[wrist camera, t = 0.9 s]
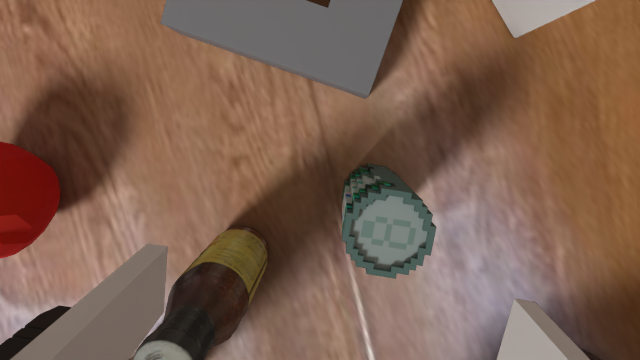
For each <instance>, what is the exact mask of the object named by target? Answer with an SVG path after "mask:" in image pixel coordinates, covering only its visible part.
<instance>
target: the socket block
mask: <svg viewBox="0 0 640 360" xmlns="http://www.w3.org/2000/svg"><path fill="white" fill-rule="evenodd" d="M402 2H403V0H330V3H329V6H328V8H327V7H324V6H321V5H318V4H315V3H312V2H310V1H307V0H166V4H165V8H164V12H163V15H162V19H161V24H163V25H165V26H166V27H168V28H170V29H172V30H174V31H176V32H178V33H180V34H182V35H185V36H188V37H190V38H193V39H196V40H199V41H202V42H205V43H208V44H210V45H213V46H216V47H219V48H222V49H225V50H228V51H230V52H233V53H236V54H239V55H242V56H245V57H248V58H250V59H253V60H256V61H259V62H262V63H265V64H268V65H270V66H273V67H276V68H279V69H282V70H285V71H288V72H290V73H293V74H296V75H299V76H302V77H305V78H308V79H310V80H313V81H316V82H319V83H322V84H325V85H328V86H330V87H333V88H336V89H339V90H342V91H345V92H348V93H350V94H353V95H356V96H359V97H362V98H365V99H366V98H367V97H368V96H369V94H370V91H371V88H372V85H373V83H374V80H375V77H376V74H377V71H378V69H379V66H380V63H381V60H382V57H383V55H384V52H385V49H386V46H387V44H388V41H389V38H390V35H391V32H392V30H393V27H394V24H395V21H396V18H397V16H398V13H399V10H400V7H401V4H402Z"/></svg>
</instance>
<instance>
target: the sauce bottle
mask: <svg viewBox="0 0 640 360" xmlns="http://www.w3.org/2000/svg"><path fill="white" fill-rule="evenodd" d="M268 255H269V251H268V247H267V244H266V242H265V240H264V239H263V238H262V236H261V235H260V234H259V233H258V232H257V231H255V230H253V229H250V228H248V227H241V226H239V227H233V228H231V229H229V230H227V231H225V232H223V233H222V234H220V235H218V236H217V237H216V238H215V239H214V241H213V242H212V243H211V244H210V245H209V246H208V247H207V248H206V249H205V250H204V251H203V252H202V253H201V254H200V256H199V257H198V258H197V259H196V260H195V261H194V262H193V263H192V264H191V265H190V266H189V268H188V269H186V271H185V272H184V273H183V274H182V275H181V276H180V277H179V278H178V280H177V281H176V282H175V283H174V285H173V287H172V289H171V291H170V294H169V298H168V303H167V307H166V312H165V317H164V320H163V322H162V324H161V325H160V326H159V327H158V329H157V330H156V331H155V332H153V333H151V334H150V335H149V336H148V337H147V338H146V339H145V340H144V341H143V343H142V344H141V345H140V347H139V348H138V349H137V351H136V353H135V356H134V359H133V360H203V359H204V357H205V356H206V354H207V352H208V351H209V349H211V347H212V346H215V345H218V344H221V343H223V342H224V341H226V340H228V339H229V338H230V337H231V336H232V334H233V333H234V331H235V330H236V329H237V327H238V325H239V323H240V321H241V318H242V317H243V316H244V314H245V312H246V311H247V308H248V306H249V304H250V302H251V300H252V297H253V295H254V293H255V291H256V288H257V286H258V284H259V282H260V280H261V277H262V275H263V273H264V271H265V269H266V266H267V261H268Z"/></svg>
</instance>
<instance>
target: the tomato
mask: <svg viewBox="0 0 640 360" xmlns="http://www.w3.org/2000/svg"><path fill="white" fill-rule="evenodd" d="M60 194H61V193H60V186H59V180H58V177H57V175H56V174H55V172H54V170H53V168H52V167H51V166H49V165H48V164H47V163H45V162H44V161H43V160H41V159H40V158H39V157H37V156H35V155H33V154H32V153H30V152H28V151H26V150H24V149H23V148H21V147H18V146H15V145H13V144H9V143H4V142H0V258H4V257H8V256H11V255H14V254H16V253H18V252H19V251H21V250H22V249H24V248H25V247H27V246H29V245H30V244H32V243H33V242H34V241H35V240H36V239H37V238H38V237H39V236H40V235H41V234H42V233H43V232H44V231H45V229H46V228H47V226H48V224H49V223H50V221H51V220H52V218H53V217H54V215H55V213H56V212H57V209H58V205H59V200H60Z"/></svg>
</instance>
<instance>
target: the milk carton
mask: <svg viewBox="0 0 640 360" xmlns="http://www.w3.org/2000/svg"><path fill="white" fill-rule="evenodd" d="M593 1H596V0H492V2H493V3H494V5H495V7H496V8H497V10H498V12H499V13H500V15H501V17H502V19H503V20H504V22H505V24H506V25H507V27H508V29H509V30H510V32H511V34H512V35H513V37H514V38H517V37H519V36H521V35H524V34H526V33H528V32H530V31H532V30H534V29H536V28H538V27H541V26H543V25H545V24H547V23H549V22H551V21H553V20H555V19H557V18H560V17H562V16H564V15H566V14H568V13H570V12H572V11H574V10H577V9H579V8H581V7H583V6H585V5H587V4H589V3H591V2H593Z"/></svg>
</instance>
